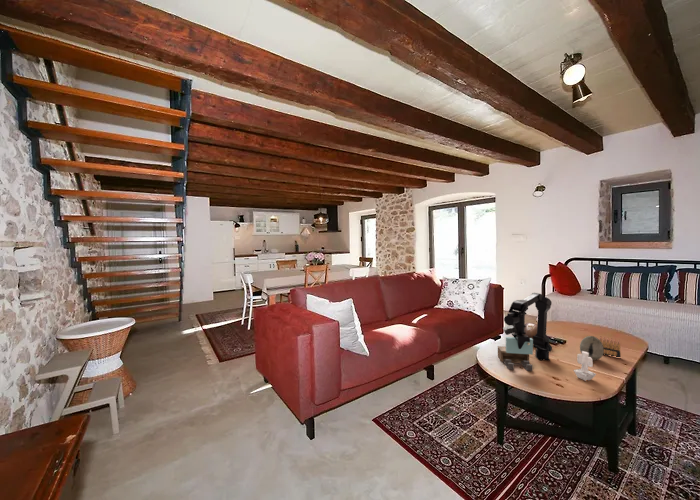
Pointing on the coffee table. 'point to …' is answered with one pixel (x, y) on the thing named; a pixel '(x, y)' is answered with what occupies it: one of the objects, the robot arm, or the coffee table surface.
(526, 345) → the door
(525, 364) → the brown legged block
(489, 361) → the coffee table surface
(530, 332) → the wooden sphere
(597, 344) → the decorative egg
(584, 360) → the figurine
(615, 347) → the ammunition clip
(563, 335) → the coffee table surface
